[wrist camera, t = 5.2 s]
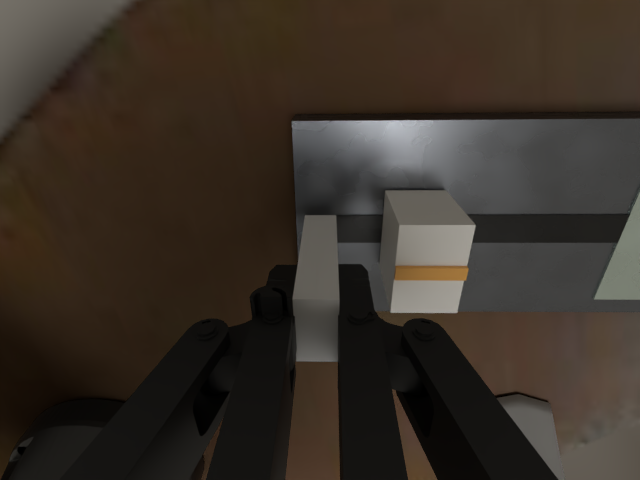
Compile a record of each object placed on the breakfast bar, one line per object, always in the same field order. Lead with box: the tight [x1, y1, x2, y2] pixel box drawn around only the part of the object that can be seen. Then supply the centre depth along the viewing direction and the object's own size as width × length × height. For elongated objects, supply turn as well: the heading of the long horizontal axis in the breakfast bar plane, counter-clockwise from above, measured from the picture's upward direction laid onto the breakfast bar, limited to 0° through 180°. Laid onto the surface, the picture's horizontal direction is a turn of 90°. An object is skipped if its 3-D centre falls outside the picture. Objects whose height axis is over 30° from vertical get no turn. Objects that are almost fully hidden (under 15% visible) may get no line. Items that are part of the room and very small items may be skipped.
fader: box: [379, 190, 476, 313], centre depth 17 cm, size 3×4×4 cm
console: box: [292, 112, 640, 312], centre depth 18 cm, size 28×11×5 cm, turn 91°
